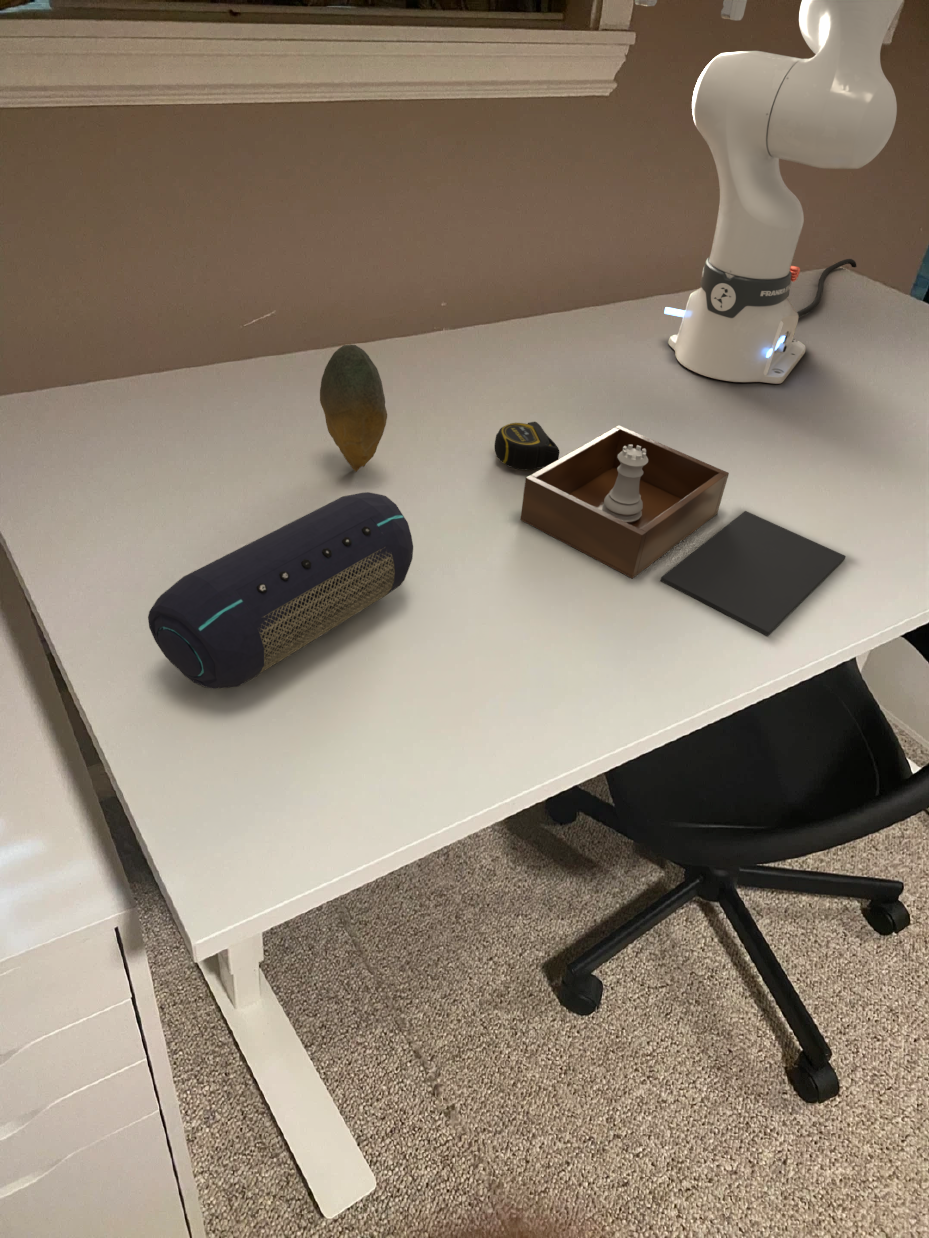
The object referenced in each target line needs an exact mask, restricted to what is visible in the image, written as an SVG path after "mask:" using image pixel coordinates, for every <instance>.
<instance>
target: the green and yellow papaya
mask: <svg viewBox="0 0 929 1238" xmlns="http://www.w3.org/2000/svg"><path fill="white" fill-rule="evenodd" d="M319 402H320V406H321V408H322V410H323V411H322V412H323V414H324V417H325V418H324V419H325V424H326V429H327V431H328V433H329V436H330V438H332V440H333V441H334V444H335V445H336V446H337V447H338V448H339V452H340V453H341V454H342V456H343V457H344V459H345V460H346V462H347V463H348V464H349V465H350V467H351V469H352V470H353V471H354V472H355V473H356V472H358V470H359V469H360V468H361V467H365V466H366V465H367V464H368V462H370V461H371V460H372V459H373V458H374V455H375V453H376V452H377V450H378V449H377V448H378V446H379V444H380V443H381V439H382V437H383V434H384V431H385V428H386V427H387V426H386V425H387V421H388V411H387V407H386V397H385V393H384V387H383V381H382V378H381V376H380V373H379V370H378V367H377V366H376V365H375V363H374V362H373V360H372V359H371V357H370V356H369V354H368V353H367V352H366V351H365V349H363V348H361V347H360V346H358V345H356V344H344V345H342V346H341V347H339V348H338V349H337V350H335V351H334V353H333V354H332V355H331V357H330V359H329V360H328V362H327V364H326V365H325V367H324V372H323V374H322V376H321V381H320V387H319Z"/></svg>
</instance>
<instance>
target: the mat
mask: <svg viewBox="0 0 929 1238" xmlns="http://www.w3.org/2000/svg"><path fill="white" fill-rule="evenodd" d="M846 557H847V556H846V555H844V554H842V553H840V552H839V551H836V550H834V549H831V548H829V547H827V546H824V545H823V544H820V543H818V542H816V541H814V540H811V539H809V538H807V537H805V536H802V535H801V534H798V533H796V532H794V531H791V530H789V529H787V528H784V527H782V526H780V525H778V524H776V523H774V522H772V521H769V520H767V519H765V518H763V517H760V516H759V515H756V514H754V513H751V512H749V511H747V510H744V511H743V512H742V513H740V515H738V516H737V517H735V518H734V519H733V520H731V521H730V522H729V523H728V524H726V525H725V526H724V527H723V528H721V529H720V530H719V531H718V532H716V533H715V534H714V535H712V536H711V537H710V538H709V539H708V540H706V541H704V543H702V544H701V545H700V546H699V547H697V548H696V549H695V550H694V551H692V552H691V553H689V554H688V555H687V556H686V557H685V558H683V559H681V561H680V562H678V563H677V564H675V565H674V566H673V567H672V568H671V569H669V570H668V571H667V572H665V573H664V574H663V575H662V576H660V579H659V580H660V582H661V583H664V584H666V585H668V586H669V587H672V588H674V589H676V590H677V591H679V592H681V593H684V594H685V595H687V596H689V597H691V598H693V599H695V600H697V601H699V602H700V603H702V604H704V605H706V606H709V607H710V608H712V609H714V610H716V611H718V612H720V613H721V614H724V615H726V616H728V617H730V618H732V619H734V620H736V621H737V622H739V623H742V624H743V625H745V626H747V627H749V628H751V629H753V630H755V631H756V632H759V633H761V634H763V635H764V636H767V637H768V636H769V635H770V634H771V633H772V632H773V631H774V630H775V629H777V627H778V626H779V625H780V624H781V623H782V622H784V620H785V619H786V618H788V616H789V615H791V613H792V612H793V611H794V610H796V608H797V607H798V606H800V604H801V603H803V601H804V600H805V599H807V597H809V596H810V595H811V593H813V592H814V591H815V589H817V587H818V586H820V584H822V583H823V582H824V580H826V579H827V578H828V577H829V576H830V575H831V573H833V571H835V570H836V568H838V567H839V566H840V565H841V564H842V563H843V562H844V561H845V560H846Z"/></svg>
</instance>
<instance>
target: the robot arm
mask: <svg viewBox="0 0 929 1238" xmlns="http://www.w3.org/2000/svg"><path fill="white" fill-rule="evenodd" d="M657 2H658V0H634V4H635V5H637V6H638V5H639V6H644V7H655V5H656V4H657ZM747 2H748V0H723V2H722V6H723V7H722V8H721V11H720V18H721V19H724V20H731V21H736V22H737V21H742V19H743V17H744V15H745V11H746V6H747ZM903 2H904V0H801V3H800V6H799V12H798V26H799V30H800V33H801V36H802V38H803V40H804V41H805V43H806V45H807V46H808V48H809V49H810V50H811V52H813V54H814V56H812V57H810V58H799V57H794V56H788V55H784V54H777V53H772V52H766V51H760V50H741V51H731V52H721V53H719V54H718V55H716V56H715V57H714V58H712V60H711V61H710V62H709V63H708V64H707V65H706V66H705V68H704V69H703V71H702V72H701V74H700V75H699V77H698V78H697V82H696V84H695V87H694V90H693V95H692V101H691V109H692V110H691V111H692V117H693V122H694V125H695V127H696V130H697V131H698V132H699V134H700V135H701V136H702V138H703V139H704V141H705V142H706V144H707V146H708V148H709V150H710V153H711V154H712V155H711V156H712V157H713V160H714V163H715V168H716V172H717V179H718V184H719V206H718V212H717V213H718V214H717V220H716V225H715V229H714V230H715V231H714V235H713V241H712V245H711V250H710V254H709V256H708V257H707V258H706V260H705V263H704V266H703V267H702V271H701V278H700V281H699V282H700V283H699V286H700V287H699V288H698V289H696V290H694V291H693V292H691V293H690V294H689V297H688V299H687V303H686V305H685V306H686V307H685V309H684V310H683V309H678V308H674V307H668V306H666V307H665V308H664V312H663V313H664V314H665V315H670V316H674V317H680V318H682V319H681V322H680V325H679V329H678V333H677V334H673V335H670V336H669V339H668V341H667V344H668V345H669V346H670V348H672V349H673V350H674V353H675V359H676V360H677V361H678V362H679V364H681V365H682V366H683V367H684V368H687V369H688V370H690V371H692V372H694V373H695V374H698V375H701V376H704V377H708V378H711V379H714V380H720V381H724V382H733V383H766V384H776V385H777V384H779V385H780V384H782V383H784V381H785V380H786V379H787V377H788V376H789V375H790V373H791V372H792V371H793V370H794V368H795V367H796V366H797V364H798V363H799V361H800V360H801V359H802V358H803V356H805V353H806V349H807V346H806V345H805V344H804V343H802V342H801V341H799V340H797V339H796V338H795V337H794V336H795V333H796V329H797V326H798V322H799V318H800V317H802V316H804V315H806V314H809V313H810V312H811V311H812V310H815V308H816V307H817V306H818V304H819V303H820V301H821V299H822V295H823V292H824V284H825V280H826V278H827V276H828V275H829V273H830V272H832V271H835V270H836V269H838V268H840V267H842V266H845V265H850V266H851V268H857V261H856V260H854V259H852V258H846V259H843V260H840V261H838V262H835V263H834V264H831V265H830V266H828V267H826V268H825V269H824V270H823V272H822V273H821V275H820V277H819V279H818V285H817V291H816V294H815V298H814V300H813V301H812V302H811V303H810V304H809V305H807V306H806V307H804V308H802V309H800V310H798V311H797V310H796V309H795V307H794V306H793V304H792V303H791V301H790V299H789V296H790V291H791V287H792V282H793V283H795V282H796V281H797V280H798V278H799V276H800V272H801V267H799V266H794V265H792V264H793V260H794V257H795V254H796V251H797V250H796V249H797V246H798V243H799V240H800V238H801V237H800V236H801V233H802V230H803V227H804V223H805V216H804V215H805V214H804V210H803V205H802V204H801V201H800V200H799V198H798V197H797V195H795V193H793V192H792V190H791V189H790V188H788V186H787V185H786V183H785V182H784V180H783V177H782V174H781V169H780V160H784V161H788V162H792V163H795V164H796V163H797V164H800V165H804V166H809V167H813V168H816V169H817V168H818V169H824V170H857V169H858V170H859V169H861V168H863V167H864V166H866V165H868V164H869V163H870V162H872V161H873V160H874V159H875V158H876V157H877V156H878V155H879V154H880V153H881V152H882V150H883V149H884V148H885V146H886V145H887V143H888V141H889V140H890V138H891V136H892V133H893V131H894V128H895V125H896V121H897V114H898V103H897V98H896V94H895V90H894V88H893V86H892V84H891V82H890V81H889V79H887V77H886V75H885V73H884V71H883V68H882V64H881V50H882V45H883V41H884V39H885V37H886V35H887V33H888V31H889V29H890V26H891V24H892V22H893V21H894V19H895V16H896V14H897V12H898V11H899V9H900V7H901V6H902V3H903Z"/></svg>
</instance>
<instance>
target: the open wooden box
mask: <svg viewBox="0 0 929 1238" xmlns="http://www.w3.org/2000/svg"><path fill="white" fill-rule="evenodd" d="M631 444H632V445H633V448H634V449H636V446H637V445H638V446H641V451H642V449H644V448H645V450H646V456H647V458H648V463H647V464H646V465H644V466H643V467H642V470H643V475H642V476H641V478H640V483H639V494H640V495H641V500H642V502H643V509H642V510H641V511H642V516H641V517H640V518H639V519H638V520H637V521H635V522H633V523H629V524H628V523H626V522H624V521H622V520H620V519H618V518H616V517H614V516H612V515H610V514H608V513H606V512H604V511H602V506H603V504H604V499H605V497H606V496H607V495H608V494H609V493H610V491H611V490H612V489H613V487H614V485H615V482H616V479H617V477H618V471H617V468H618V467H619V466H620V464H621V463H620V461H619V459H618V454H619V453H620V452H622V450H623V447H624V446H626V447H627V448H628V445H631ZM729 475H730V473H729V472H727V471H726V470H723V469H721V468H719V467H716V466H714V465H711V464H709V463H708V462H707V463H706V462H704V461H702V460H700V459H697V458H696V457H694V456H691V455H688V454H686V453H684V452H682V451H680V450H677V449H675V448H672V447H670V446H668V445H665V444H663V443H661V442H659V441H656V440H654V439H651V438H649V437H646V436H645V435H642V434H640V433H637V432H635V431H634V430H631V429H628V428H626V427H624V426H623V425H622V426H621V425H617V426H614V427H613V428H611V429H610V430H607V431H606V432H604V433H602V434H601V435H599V436H597V437H595V438H594V439H592V440H590V441H588V442H587V443H585V444H583V445H581V446H579V447H578V448H576V449H574V450H572V451H571V452H569V453H566V454H565V455H564V456H562V457H559V458H558V460H556V461H555V462H553V463H551V464H549V465H548V466H545V467H541V468H540V469H538V470H536V471H535V472H533V473H532V474H530V475H528V476H526V477H525V480H524V488H523V498H522V505H521V512H520V517H519V518H520V520H521V521H522V522H524V523H526V524H528V525H530V526H531V527H534V528H535V529H537V530H539V531H541V532H542V533H544V534H547V535H549V536H550V537H552V538H554V539H556V540H558V541H560V542H562V543H564V544H566V545H568V546H570V547H571V548H574V549H575V550H577V551H578V552H581V553H583V554H585V555H587V556H588V557H590V558H592V559H594V560H596V561H598V562H600V563H602V564H604V565H606V566H607V567H610V568H611V569H613V570H615V571H617V572H619V573H621V574H623V575H625V576H626V577H629V578H631V579H633V578H635V577H636V576H638V575H639V574H640V573H641V572H643V571H644V570H646V568H648V567H650V566H651V565H652V564H653V563H654V562H656V561H657V560H659V559H660V558H661V557H662V556H664V555H666V553H668V552H669V551H671V550H672V549H673V548H674V547H676V546H677V545H678V544H680V543H681V542H682V541H683V540H685V539H687V538H688V537H689V536H690V535H692V534H693V533H694V532H695V531H697V530H698V529H699V528H701V527H702V526H704V525H705V524H706V523H707V522H708V521H710V520H711V519H712V518H714V517H715V516H716V515H717V514H719V510H720V506H721V502H722V498H723V495H724V492H725V488H726V485H727V482H728V478H729Z"/></svg>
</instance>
